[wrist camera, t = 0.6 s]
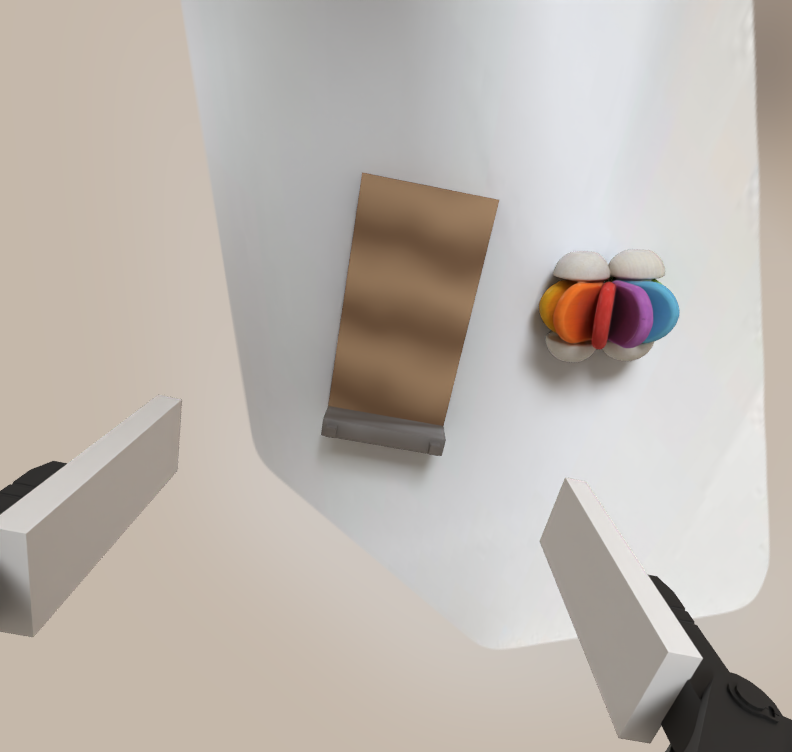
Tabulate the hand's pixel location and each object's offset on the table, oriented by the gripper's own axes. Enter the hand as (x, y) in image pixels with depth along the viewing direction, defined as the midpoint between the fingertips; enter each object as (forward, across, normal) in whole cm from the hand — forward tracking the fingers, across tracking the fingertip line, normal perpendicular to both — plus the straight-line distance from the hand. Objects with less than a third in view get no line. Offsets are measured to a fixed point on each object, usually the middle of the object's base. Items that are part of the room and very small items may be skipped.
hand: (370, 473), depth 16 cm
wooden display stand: (+24, +1, 0) cm, 24 cm away
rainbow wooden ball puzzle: (+25, +16, +5) cm, 30 cm away
